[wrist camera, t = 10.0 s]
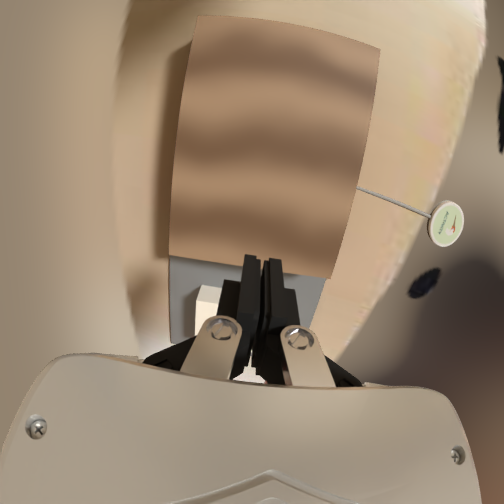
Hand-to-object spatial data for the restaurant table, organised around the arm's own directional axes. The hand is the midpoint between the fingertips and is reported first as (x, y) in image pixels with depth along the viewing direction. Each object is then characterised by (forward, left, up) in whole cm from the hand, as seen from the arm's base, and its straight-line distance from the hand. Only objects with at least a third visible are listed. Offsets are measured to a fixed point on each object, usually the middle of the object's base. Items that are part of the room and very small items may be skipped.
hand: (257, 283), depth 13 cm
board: (-6, 0, -13) cm, 14 cm away
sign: (-3, +16, -14) cm, 21 cm away
